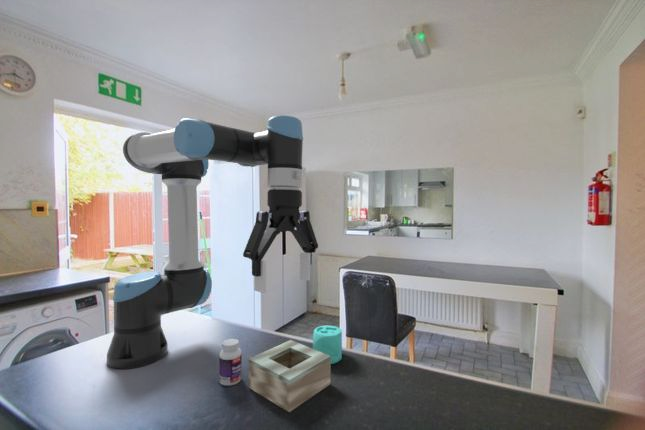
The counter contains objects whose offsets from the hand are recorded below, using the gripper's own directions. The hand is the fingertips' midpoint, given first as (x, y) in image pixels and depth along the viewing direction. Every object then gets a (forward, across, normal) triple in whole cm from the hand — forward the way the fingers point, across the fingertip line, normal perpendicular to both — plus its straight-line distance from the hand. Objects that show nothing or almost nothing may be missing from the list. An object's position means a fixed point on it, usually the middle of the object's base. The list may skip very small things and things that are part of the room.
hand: (284, 285), depth 70 cm
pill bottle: (+26, -3, +16) cm, 31 cm away
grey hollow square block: (+26, +5, +3) cm, 27 cm away
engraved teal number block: (+26, +22, +5) cm, 35 cm away
